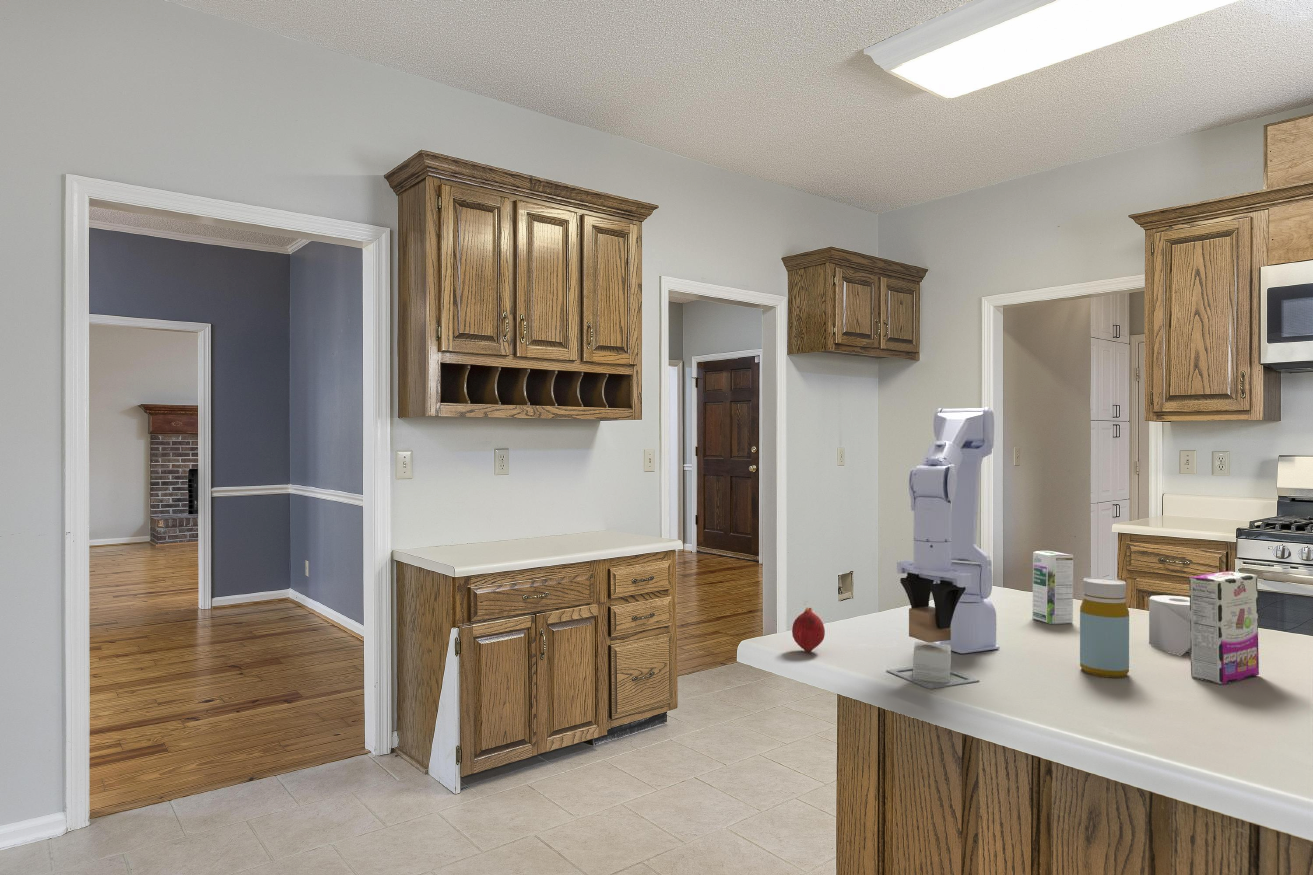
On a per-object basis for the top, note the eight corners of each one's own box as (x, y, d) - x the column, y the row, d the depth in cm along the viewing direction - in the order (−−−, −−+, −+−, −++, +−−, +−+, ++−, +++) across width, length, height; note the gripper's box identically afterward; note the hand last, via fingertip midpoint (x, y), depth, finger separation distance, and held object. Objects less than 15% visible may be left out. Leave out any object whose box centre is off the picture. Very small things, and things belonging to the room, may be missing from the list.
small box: (950, 684, 122) (950, 652, 122) (912, 680, 124) (912, 649, 124) (950, 674, 127) (950, 644, 127) (913, 670, 129) (914, 640, 130)
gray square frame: (933, 664, 132) (933, 663, 132) (979, 681, 123) (979, 680, 123) (886, 671, 128) (886, 670, 128) (929, 689, 119) (929, 687, 119)
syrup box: (1031, 618, 168) (1031, 550, 168) (1054, 617, 169) (1054, 550, 169) (1050, 624, 162) (1050, 554, 162) (1074, 623, 164) (1074, 553, 164)
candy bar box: (1225, 668, 131) (1225, 570, 131) (1260, 675, 127) (1260, 574, 127) (1187, 676, 126) (1187, 575, 126) (1221, 685, 122) (1221, 580, 122)
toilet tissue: (1180, 658, 137) (1180, 609, 137) (1139, 639, 150) (1139, 594, 150) (1235, 659, 137) (1235, 610, 137) (1188, 640, 150) (1188, 595, 150)
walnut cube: (930, 633, 129) (930, 606, 129) (950, 639, 124) (950, 611, 124) (908, 636, 127) (908, 608, 127) (928, 642, 123) (928, 613, 123)
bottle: (1123, 668, 131) (1123, 578, 131) (1133, 680, 124) (1133, 585, 124) (1076, 664, 133) (1076, 576, 133) (1084, 676, 126) (1084, 583, 126)
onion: (824, 657, 137) (825, 611, 137) (791, 655, 138) (791, 609, 138) (824, 648, 143) (824, 604, 143) (792, 646, 144) (792, 603, 144)
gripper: (882, 536, 131) (882, 617, 131) (946, 546, 118) (945, 637, 118) (915, 534, 134) (915, 613, 134) (981, 544, 120) (981, 632, 120)
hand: (931, 624), depth 126 cm, fingers closed on walnut cube, 4 cm apart
